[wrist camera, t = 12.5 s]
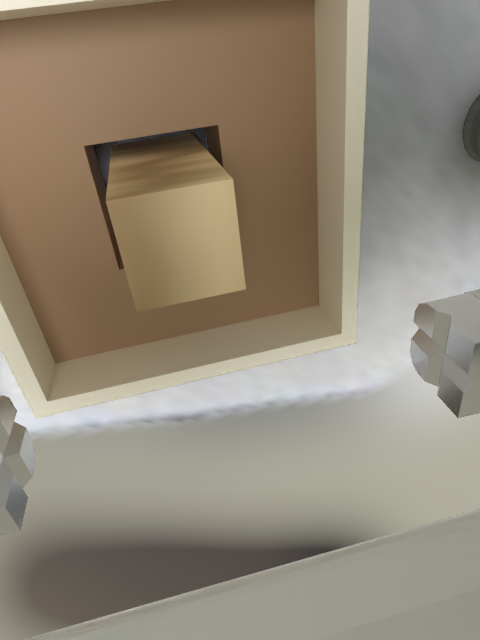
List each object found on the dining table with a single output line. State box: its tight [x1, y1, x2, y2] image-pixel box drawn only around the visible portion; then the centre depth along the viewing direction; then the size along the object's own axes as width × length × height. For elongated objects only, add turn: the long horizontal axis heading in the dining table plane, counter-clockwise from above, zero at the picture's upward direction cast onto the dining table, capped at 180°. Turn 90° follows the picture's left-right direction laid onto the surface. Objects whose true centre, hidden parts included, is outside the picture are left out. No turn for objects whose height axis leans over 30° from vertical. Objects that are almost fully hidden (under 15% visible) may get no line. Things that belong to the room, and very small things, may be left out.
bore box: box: [0, 0, 370, 419], centre depth 20 cm, size 16×16×7 cm
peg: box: [106, 132, 246, 312], centre depth 19 cm, size 4×4×10 cm
